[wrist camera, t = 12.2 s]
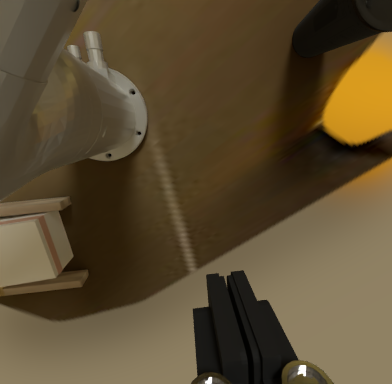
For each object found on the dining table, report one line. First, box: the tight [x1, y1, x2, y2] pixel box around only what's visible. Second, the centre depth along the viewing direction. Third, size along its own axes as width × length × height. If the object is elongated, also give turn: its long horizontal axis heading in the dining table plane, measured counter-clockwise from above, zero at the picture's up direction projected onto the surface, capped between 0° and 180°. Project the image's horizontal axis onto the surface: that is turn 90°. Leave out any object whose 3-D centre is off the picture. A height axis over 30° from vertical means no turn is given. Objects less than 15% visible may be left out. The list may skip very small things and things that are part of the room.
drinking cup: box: [293, 0, 392, 57], centre depth 22 cm, size 8×8×20 cm
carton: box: [0, 211, 73, 287], centre depth 35 cm, size 9×9×6 cm
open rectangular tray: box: [0, 196, 89, 296], centre depth 36 cm, size 14×13×3 cm
